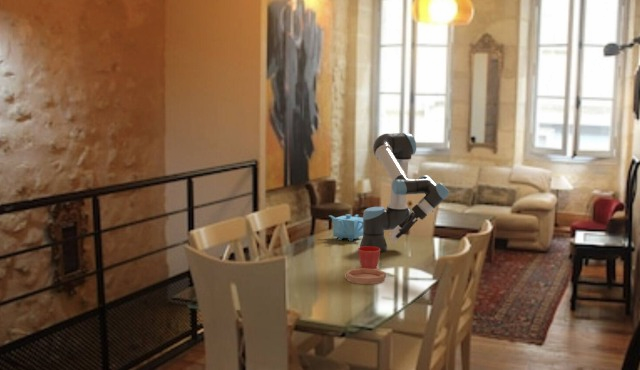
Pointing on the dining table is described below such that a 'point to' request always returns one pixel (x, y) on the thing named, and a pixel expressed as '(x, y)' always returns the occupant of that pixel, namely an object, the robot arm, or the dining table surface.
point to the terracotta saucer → (365, 276)
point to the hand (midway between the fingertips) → (391, 238)
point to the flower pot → (369, 256)
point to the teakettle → (347, 227)
